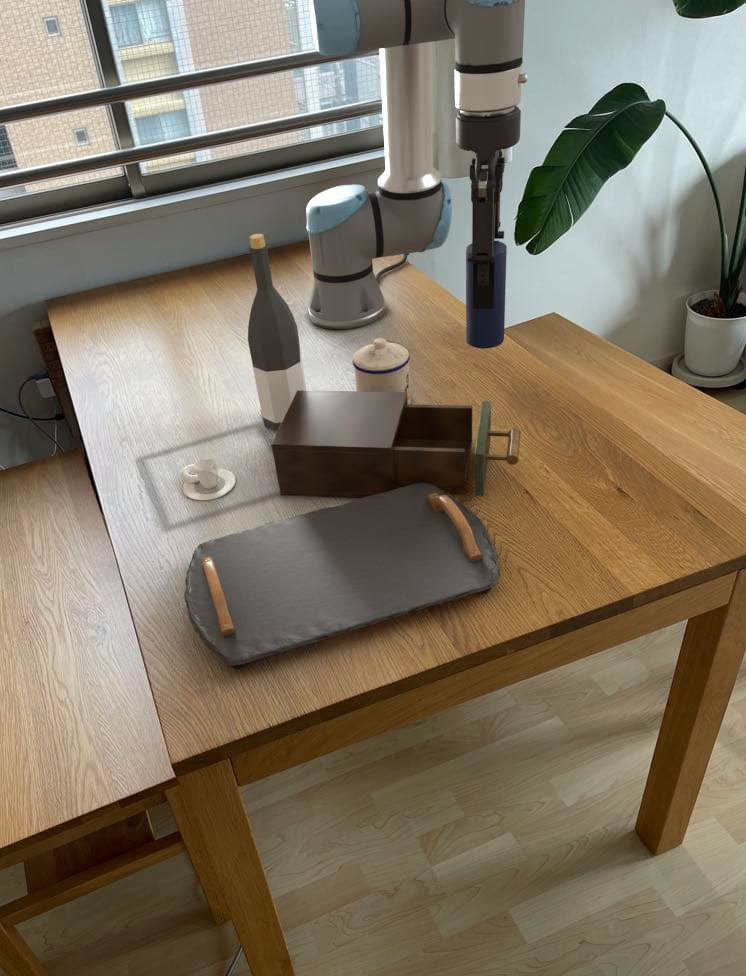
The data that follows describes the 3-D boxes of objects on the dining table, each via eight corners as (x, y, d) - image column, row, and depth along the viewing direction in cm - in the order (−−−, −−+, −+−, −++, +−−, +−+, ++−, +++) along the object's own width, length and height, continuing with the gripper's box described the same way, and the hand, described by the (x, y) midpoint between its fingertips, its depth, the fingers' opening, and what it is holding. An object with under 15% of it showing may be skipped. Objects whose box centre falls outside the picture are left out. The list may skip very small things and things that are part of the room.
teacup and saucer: (177, 478, 125) (170, 456, 122) (226, 463, 127) (221, 441, 124) (190, 509, 118) (184, 486, 116) (242, 492, 120) (237, 470, 118)
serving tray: (208, 691, 91) (196, 653, 87) (176, 565, 108) (165, 529, 104) (523, 593, 98) (526, 554, 94) (446, 489, 115) (445, 453, 111)
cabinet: (410, 442, 125) (407, 392, 120) (394, 500, 114) (390, 448, 109) (304, 439, 129) (297, 390, 123) (280, 495, 118) (270, 444, 113)
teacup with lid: (418, 413, 131) (415, 347, 124) (363, 424, 131) (357, 358, 123) (399, 379, 141) (395, 316, 133) (348, 389, 140) (341, 326, 133)
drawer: (520, 442, 121) (522, 401, 116) (516, 497, 110) (517, 455, 106) (387, 438, 125) (384, 399, 121) (371, 491, 115) (367, 450, 111)
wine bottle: (256, 414, 137) (221, 234, 118) (300, 400, 139) (273, 221, 120) (272, 436, 131) (238, 251, 112) (318, 422, 133) (292, 237, 114)
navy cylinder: (468, 331, 116) (468, 240, 108) (505, 331, 115) (508, 239, 107) (464, 348, 112) (463, 255, 104) (502, 349, 111) (505, 255, 103)
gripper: (516, 128, 87) (509, 329, 102) (525, 87, 101) (518, 270, 116) (446, 131, 89) (449, 328, 104) (464, 91, 103) (465, 271, 117)
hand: (485, 297), depth 110 cm, fingers closed on navy cylinder, 5 cm apart
